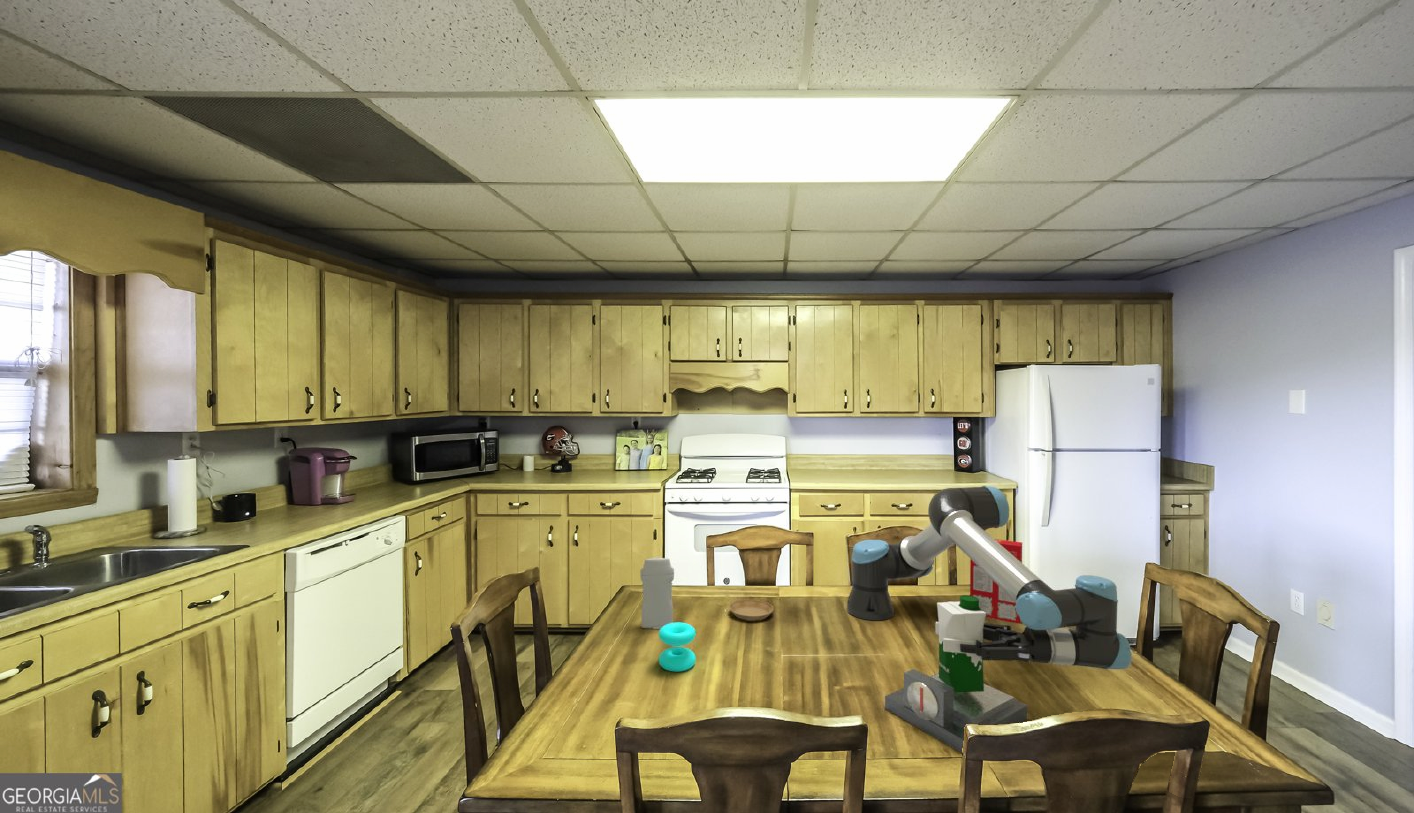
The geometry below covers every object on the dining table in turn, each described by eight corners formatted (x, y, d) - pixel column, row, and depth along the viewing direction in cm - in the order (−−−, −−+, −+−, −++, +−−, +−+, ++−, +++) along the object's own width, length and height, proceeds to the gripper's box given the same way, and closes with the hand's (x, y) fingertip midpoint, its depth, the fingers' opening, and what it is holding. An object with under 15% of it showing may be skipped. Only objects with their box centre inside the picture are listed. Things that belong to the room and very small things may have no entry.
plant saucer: (748, 603, 198) (748, 596, 198) (782, 614, 188) (782, 607, 188) (719, 615, 187) (719, 607, 187) (754, 627, 177) (754, 619, 177)
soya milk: (990, 693, 126) (990, 604, 126) (951, 695, 125) (951, 605, 125) (968, 674, 135) (968, 591, 135) (932, 676, 134) (932, 592, 134)
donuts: (652, 632, 149) (667, 618, 159) (652, 670, 150) (667, 653, 159) (687, 638, 146) (700, 623, 155) (687, 676, 146) (700, 659, 156)
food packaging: (1021, 618, 184) (1022, 542, 184) (1020, 623, 180) (1021, 546, 179) (972, 609, 192) (972, 536, 191) (969, 614, 188) (970, 539, 187)
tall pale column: (673, 623, 180) (673, 555, 179) (674, 628, 176) (674, 558, 175) (640, 624, 179) (640, 556, 179) (640, 630, 175) (640, 559, 174)
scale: (883, 709, 131) (883, 664, 130) (947, 680, 144) (948, 639, 144) (963, 755, 114) (963, 704, 114) (1027, 718, 127) (1027, 672, 127)
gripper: (1066, 685, 116) (949, 674, 120) (1030, 641, 136) (931, 633, 141) (1066, 649, 115) (949, 639, 120) (1030, 610, 136) (931, 603, 141)
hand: (939, 636), depth 131 cm, fingers closed on soya milk, 9 cm apart
